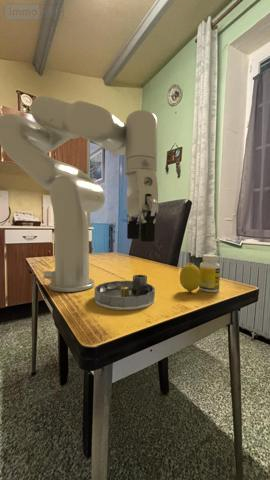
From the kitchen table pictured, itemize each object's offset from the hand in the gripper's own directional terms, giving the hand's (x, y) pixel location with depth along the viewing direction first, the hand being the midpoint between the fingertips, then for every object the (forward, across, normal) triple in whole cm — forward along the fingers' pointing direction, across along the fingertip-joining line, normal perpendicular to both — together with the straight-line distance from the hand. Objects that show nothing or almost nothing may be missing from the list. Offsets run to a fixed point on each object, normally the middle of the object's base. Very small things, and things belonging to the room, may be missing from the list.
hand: (139, 240), depth 53 cm
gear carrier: (+14, 0, +4) cm, 15 cm away
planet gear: (+13, 0, 0) cm, 13 cm away
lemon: (+14, 0, -15) cm, 21 cm away
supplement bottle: (+14, 0, -21) cm, 26 cm away
